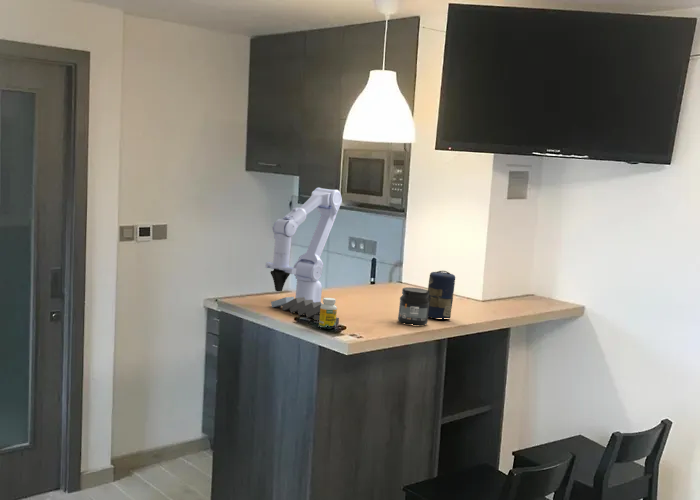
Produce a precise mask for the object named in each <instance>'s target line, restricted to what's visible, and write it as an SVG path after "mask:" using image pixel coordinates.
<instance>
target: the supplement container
mask: <svg viewBox="0 0 700 500" xmlns="http://www.w3.org/2000/svg"><path fill="white" fill-rule="evenodd" d="M401 294H402V295H401V296H400V297H399V308H398V316H397V321H398V323H400V322H401V323H400V324H402V323H405V324H413V325H424V326H426V325H427V324H428V321H429V320H428V319H429V317H428V311H429V304H430V300H429V299H428V297H429V291H428V289H426V288H420V287H408V286H407V287H403V288H402V289H401ZM405 324H404V325H405ZM425 324H426V325H425Z"/></svg>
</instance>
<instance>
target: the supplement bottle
mask: <svg viewBox="0 0 700 500" xmlns="http://www.w3.org/2000/svg"><path fill="white" fill-rule="evenodd" d="M336 302H337V301H336V298H333V297H323V299H322V305H321V307H320V318H319V322H318V327H319V326H320V327H327V326H333V325H335V326H336V325H337V324H336V317H337V313H338V312H337V311H338V307H337V306H336V305H335V304H336Z"/></svg>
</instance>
